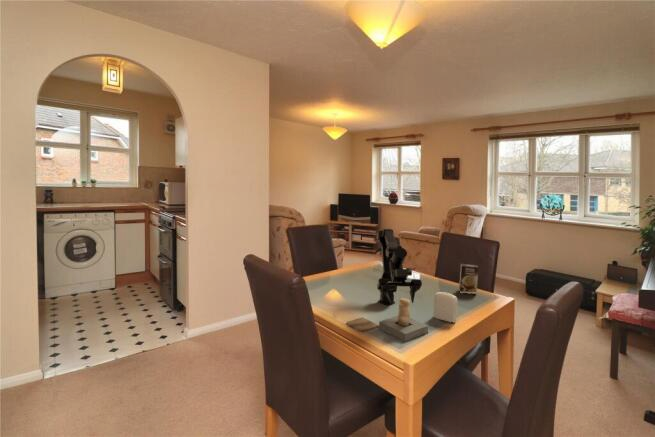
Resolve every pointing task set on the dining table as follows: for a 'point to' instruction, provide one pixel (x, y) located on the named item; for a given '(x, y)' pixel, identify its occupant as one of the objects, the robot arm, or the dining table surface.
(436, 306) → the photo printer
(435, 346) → the dining table surface
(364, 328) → the mat
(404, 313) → the dowel
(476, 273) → the coffee box
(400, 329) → the holder
